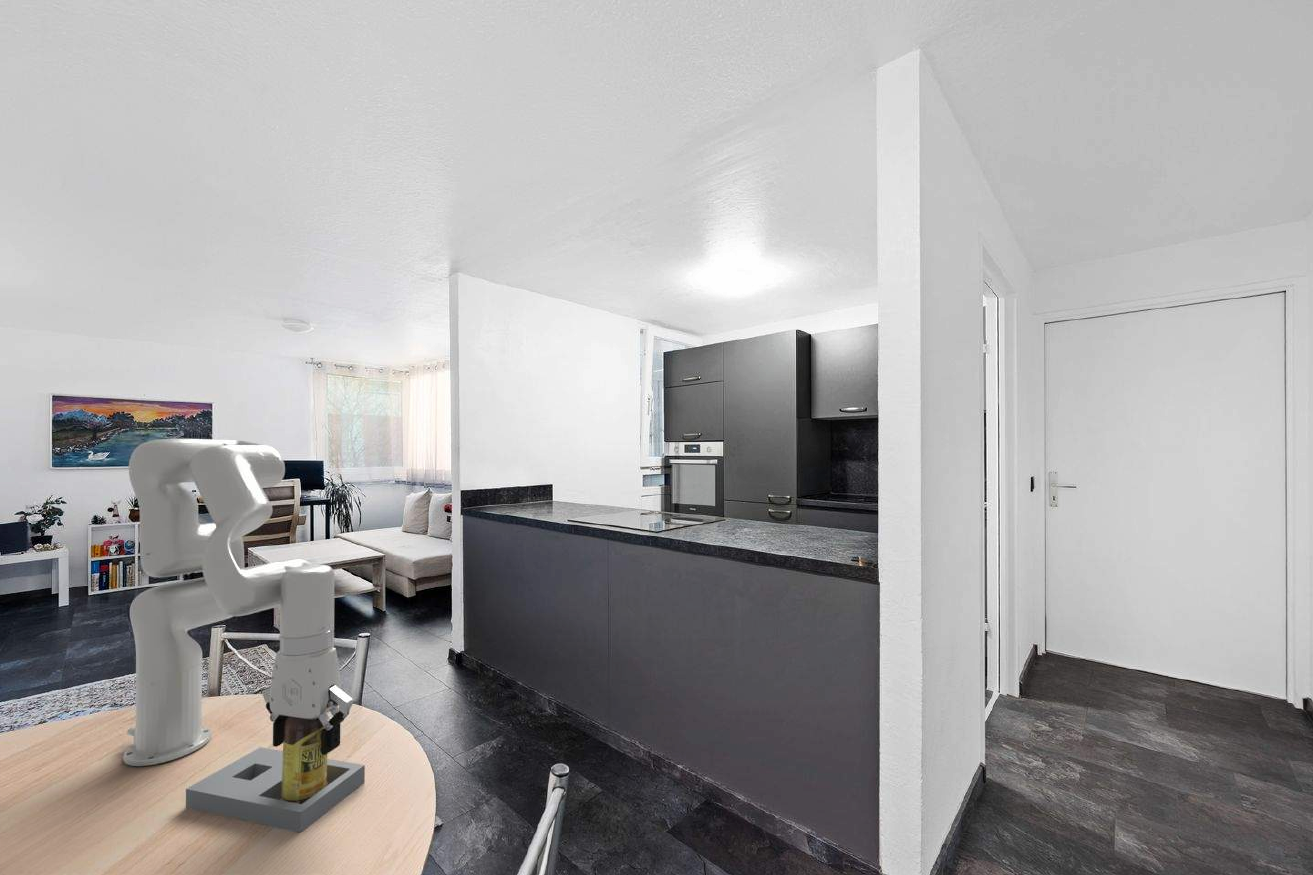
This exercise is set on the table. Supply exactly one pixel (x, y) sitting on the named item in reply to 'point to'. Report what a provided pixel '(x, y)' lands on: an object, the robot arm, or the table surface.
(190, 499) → the robot arm
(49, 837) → the table surface
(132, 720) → the table surface
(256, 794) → the caddy
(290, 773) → the sauce bottle
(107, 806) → the table surface
